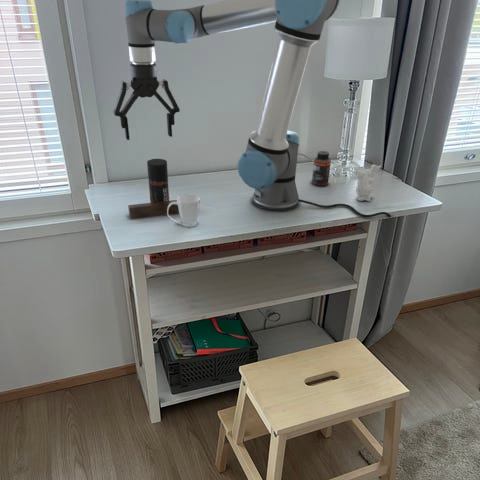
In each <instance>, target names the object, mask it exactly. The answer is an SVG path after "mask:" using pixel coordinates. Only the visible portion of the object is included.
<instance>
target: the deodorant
mask: <svg viewBox="0 0 480 480" xmlns="http://www.w3.org/2000/svg"><path fill="white" fill-rule="evenodd" d="M146 165H147V166H146V167H147V176H148V188H149V190H148V191H149V201H150V202H149V203H153V202H162V201H170V192H169V191H170V190H169V189H170V188H169V175H168V173H169V171H168V161H167V160H166V159H163V158H151V159H149V160H147V161H146Z"/></svg>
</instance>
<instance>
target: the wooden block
mask: <svg viewBox="0 0 480 480" xmlns="http://www.w3.org/2000/svg"><path fill="white" fill-rule="evenodd" d="M172 202H177V199H171V200H169V201H162V202H153V203H150V202H145V203H135V204H128V205H127V208H128V216H129V219H130V220H135V219H136V220H137V219H141V218H143V219H144V218H151V217H152V218H153V217H161V216H168V215H167V208H168V205H169V204H170V203H172ZM168 214H169V216H170V215H176V214H179V209H178V205H176V204H172V205H171V206H170V207H169V210H168Z"/></svg>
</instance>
